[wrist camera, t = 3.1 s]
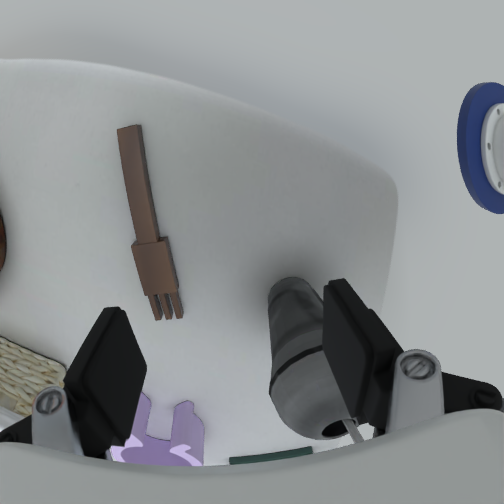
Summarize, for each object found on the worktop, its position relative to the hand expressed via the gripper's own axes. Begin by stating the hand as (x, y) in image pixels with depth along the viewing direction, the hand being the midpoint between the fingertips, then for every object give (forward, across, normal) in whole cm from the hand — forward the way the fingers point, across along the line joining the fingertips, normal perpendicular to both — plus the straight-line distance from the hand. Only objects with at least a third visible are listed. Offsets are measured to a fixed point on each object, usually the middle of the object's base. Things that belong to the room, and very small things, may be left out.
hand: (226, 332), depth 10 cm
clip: (+16, +15, +31) cm, 38 cm away
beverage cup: (+16, -5, +9) cm, 19 cm away
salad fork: (+16, +7, -1) cm, 17 cm away
